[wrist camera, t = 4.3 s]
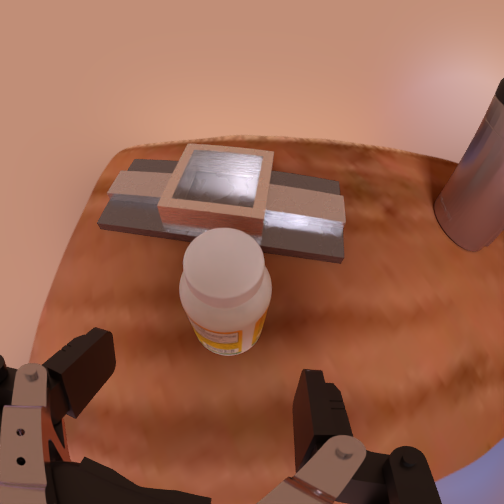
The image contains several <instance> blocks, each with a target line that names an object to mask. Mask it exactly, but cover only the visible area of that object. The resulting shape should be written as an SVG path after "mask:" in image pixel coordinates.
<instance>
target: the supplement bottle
mask: <svg viewBox="0 0 504 504" xmlns="http://www.w3.org/2000/svg"><path fill="white" fill-rule="evenodd" d="M183 270H184V271H183V273H182V276H181V279H180V284H179V294H180V299H181V303H182V306H183V308H184V310H185V312H186V314H187V317H188V319H189V321H190V323H191V325H192V327H193V329H194V331H195V334H196V336H197V337H198V339H199V341H200V342H201V343H202V344H203V345H204V346H205V347H206V348H207V349H208V350H210V351H212V352H214V353H216V354H220V355H226V356H231V355H237V354H240V353H243V352H245V351H247V350H248V349H250V348H251V347H252V346H253V345H254V344H255V343H256V342H257V340H258V338H259V337H260V334H261V331H262V328H263V324H264V321H265V318H266V314H267V310H268V307H269V303H270V299H271V294H272V283H271V278H270V275H269V272H268V270H267V268H266V266H265V260H264V255H263V252H262V249H261V248H260V246H259V244H258V243H257V242H256V241H255V240H254V239H253V238H252V237H251V236H250V235H248V234H246V233H245V232H243V231H240V230H237V229H233V228H216V229H211V230H208V231H206V232H204V233H202V234H200V235H199V236H197V237H196V238H195V239H194V240H193V241H192V242H191V243H190V245H189V246H188V248H187V249H186V252H185V254H184V259H183Z"/></svg>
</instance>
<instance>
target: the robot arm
mask: <svg viewBox="0 0 504 504" xmlns="http://www.w3.org/2000/svg"><path fill="white" fill-rule="evenodd" d="M434 210H435V214H436V217H437V219H438V222H439V223H440V225H441V227H442V228H443V230H444V231H445V232H446V234H447V235H448V236H449V237H450V238H451V239H452V240H453V241H454V242H455V243H456V244H458V245H459V246H461V247H462V248H464V249H466V250H469V251H478V250H480V249H481V248H482V247H483V246H489V245H490V244H491V243H492V242H493V241H494V240H495V238H496V237H497V236H498V235H499V234H500V233H501V232H502V231H503V230H504V78H503V79H502V80H501V82H500V84H499V86H498V88H497V91H496V93H495V95H494V97H493V99H492V102H491V104H490V106H489V108H488V110H487V112H486V114H485V116H484V118H483V120H482V122H481V124H480V126H479V128H478V130H477V132H476V134H475V136H474V138H473V140H472V141H471V143H470V145H469V147H468V149H467V150H466V152H465V154H464V156H463V157H462V159H461V161H460V162H459V164H458V166H457V167H456V169H455V171H454V172H453V174H452V176H451V177H450V179H449V180H448V182H447V184H446V185H445V187H444V188H443V190H442V191H441V193H440V194H439V196H438V197H437V199H436V200H435V204H434ZM115 366H116V359H115V351H114V343H113V335H112V333H111V332H110V331H106V330H103V329H100V328H97V327H95V328H93V329H92V330H91V331H89V332H88V333H87V334H86V335H82V336H79V337H76V338H74V339H73V340H71V341H70V342H69V343H68V344H67V346H66V345H65V346H64V347H63V348H62V349H61V350H59V351H58V352H57V353H56V354H54V355H53V356H52V357H51V358H50V359H48V360H47V361H46V362H45V363H44V364H42V365H40V364H36V363H29V364H25V365H23V366H21V367H20V368H19V369H18V370H17V369H13V368H9V367H6V364H5V361H4V358H3V357H2V356H1V355H0V504H211V498H208V497H203V496H198V495H194V494H189V493H185V492H181V491H177V490H163V489H153V488H144V487H140V486H138V485H136V484H134V483H133V482H131V481H129V480H128V479H126V478H125V477H123V476H122V475H120V474H119V473H117V472H116V471H114V470H113V469H111V468H109V467H106V466H104V465H102V464H99V463H97V462H95V461H93V460H91V459H89V458H86V457H84V458H83V460H82V461H81V463H77V462H71V459H70V456H69V451H68V445H67V438H66V430H65V422H64V419H63V417H64V416H65V415H66V414H67V415H69V416H71V417H73V418H75V419H76V418H77V417H78V416H79V414H80V413H81V412H82V411H83V409H84V408H85V407H86V406H87V404H88V403H89V402H90V401H91V399H92V398H93V397H94V396H95V395H96V393H97V392H98V391H99V390H100V388H101V387H102V386H103V385H104V384H105V382H106V381H107V380H108V379H109V378H110V376H111V375H112V374H113V372H114V370H115ZM293 427H294V445H295V466H296V474H295V475H294V476H293V477H292V478H291V477H288V478H286V479H285V480H284V481H282V482H281V483H280V484H279V485H278V486H277V487H276V488H274V489H273V490H272V491H271V492H270V493H269V494H268V495H266V496H265V497H264V498H263V499H262V500H260V501H259V502H258V503H257V504H333V503H334V501H337V502H342V503H348V504H442V503H441V500H440V497H439V494H438V491H437V488H436V485H435V482H434V479H433V476H432V474H431V471H430V468H429V465H428V463H427V460H426V458H425V456H424V454H423V453H422V452H421V451H419V450H418V449H416V448H414V447H410V446H402V447H398V448H396V449H395V450H394V451H393V452H392V453H391V454H390V455H387V454H380V453H374V452H370V451H367V450H366V448H365V446H364V445H363V443H362V442H361V441H359V440H358V439H356V438H354V437H353V434H352V431H351V427H350V423H349V420H348V416H347V413H346V410H345V406H344V402H343V399H342V395H341V392H340V391H339V389H338V388H337V387H336V386H335V385H334V384H333V383H325V380H324V376H323V372H322V371H321V370H309V369H303V370H302V373H301V376H300V380H299V383H298V387H297V390H296V393H295V397H294V401H293Z"/></svg>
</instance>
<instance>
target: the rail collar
mask: <svg viewBox="0 0 504 504" xmlns="http://www.w3.org/2000/svg"><path fill="white" fill-rule="evenodd" d="M273 157H274V152H272V151H265V150H257V149H248V148H239V147H228V146H217V145H204V144H188V145H187V147H186V148H185V150H184V152H183V154H182V156H181V158H180V160H179V161H167V160H146V159H134V161H133V163H132V164H131V166H130V167H129V169H128V170H127V171H120V173H119V175H118V176H117V178H116V179H115V181H114V182H113V184H112V186H111V187H110V189H109V191H108V192H107V194H108V196H109V198H110V200H109V202H108V204H107V206H106V207H105V209H104V211H103V213H102V215H101V217H100V219H99V220H98V222H97V224H98V225H99V227H100V229H104V230H111V231H118V232H125V233H132V234H139V235H146V236H153V237H160V238H167V239H174V240H181V241H188V242H192V241H193V240H194V239H195V238H196V237H197V236H199V235H200V234H202V233H204V232H206V231H208V230H211V229H216V228H233V229H237V230H240V231H243V232H245V233H246V234H248V235H250V236H251V237H252V238H253V239H254V240H255V241H256V242H257V243H258V244H259V246H260V248H261V249H262V252H264V253H271V254H278V255H285V256H292V257H299V258H305V259H312V260H319V261H326V262H333V263H340V264H341V263H342V261H343V259H344V243H343V228H344V225H345V223H346V219H345V207H344V197H343V196H341V195H340V188H339V182H338V181H333V180H327V179H322V178H316V177H310V176H304V175H298V174H292V173H285V172H278V171H272V166H273Z"/></svg>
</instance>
